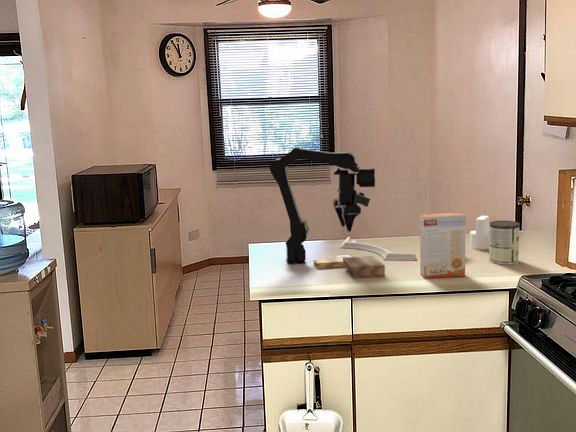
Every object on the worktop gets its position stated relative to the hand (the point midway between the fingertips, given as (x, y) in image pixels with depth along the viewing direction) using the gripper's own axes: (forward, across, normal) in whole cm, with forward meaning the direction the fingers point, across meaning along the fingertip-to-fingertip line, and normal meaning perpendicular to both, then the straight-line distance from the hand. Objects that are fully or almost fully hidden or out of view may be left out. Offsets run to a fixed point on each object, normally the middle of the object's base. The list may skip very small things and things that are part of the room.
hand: (346, 228), depth 226 cm
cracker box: (+12, -26, -27) cm, 39 cm away
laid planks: (+12, -15, -3) cm, 20 cm away
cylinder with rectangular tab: (+11, +9, -58) cm, 60 cm away
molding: (+13, +15, -16) cm, 26 cm away
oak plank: (+13, -4, +6) cm, 15 cm away
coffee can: (+11, -14, -55) cm, 58 cm away
